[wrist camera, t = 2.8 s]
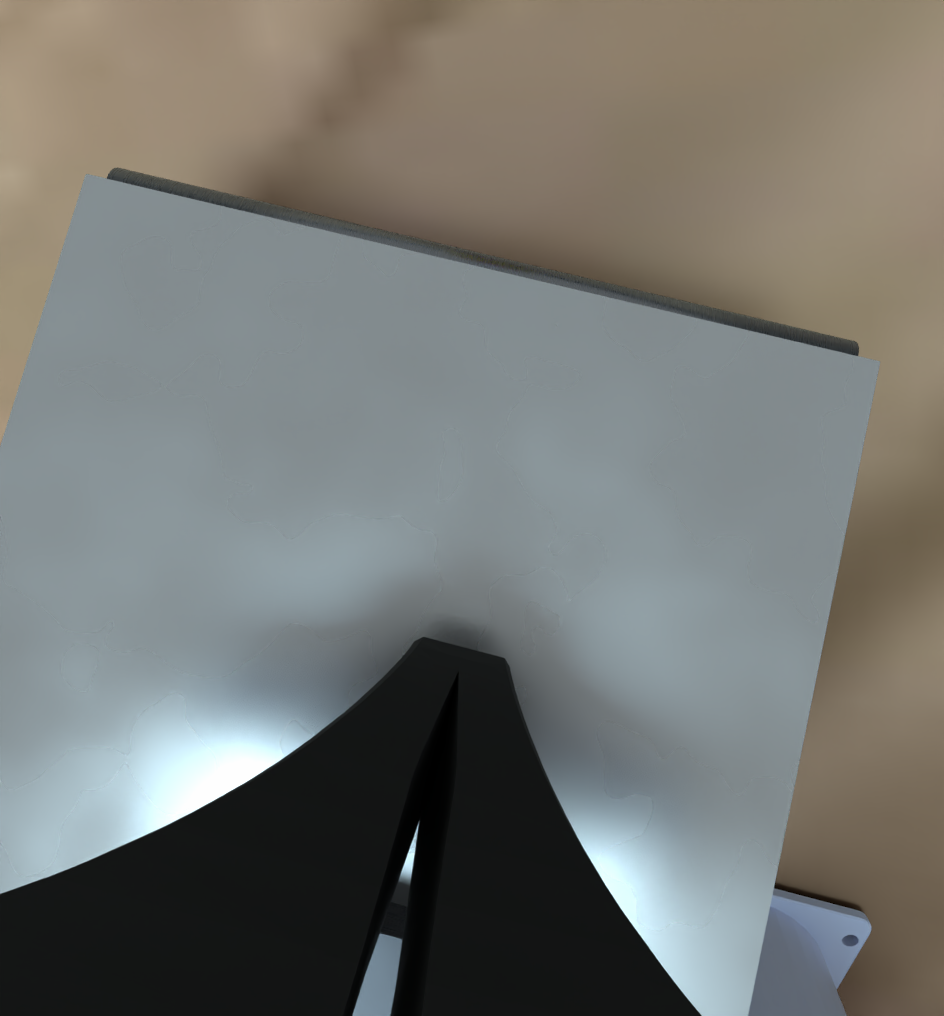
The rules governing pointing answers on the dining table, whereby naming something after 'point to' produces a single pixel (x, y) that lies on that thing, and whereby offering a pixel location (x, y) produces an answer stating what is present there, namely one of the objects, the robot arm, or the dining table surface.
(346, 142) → the dining table surface
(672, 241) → the dining table surface
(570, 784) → the steel lid
